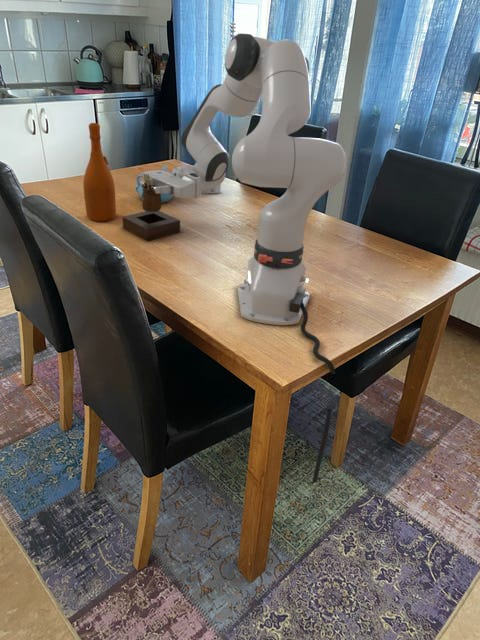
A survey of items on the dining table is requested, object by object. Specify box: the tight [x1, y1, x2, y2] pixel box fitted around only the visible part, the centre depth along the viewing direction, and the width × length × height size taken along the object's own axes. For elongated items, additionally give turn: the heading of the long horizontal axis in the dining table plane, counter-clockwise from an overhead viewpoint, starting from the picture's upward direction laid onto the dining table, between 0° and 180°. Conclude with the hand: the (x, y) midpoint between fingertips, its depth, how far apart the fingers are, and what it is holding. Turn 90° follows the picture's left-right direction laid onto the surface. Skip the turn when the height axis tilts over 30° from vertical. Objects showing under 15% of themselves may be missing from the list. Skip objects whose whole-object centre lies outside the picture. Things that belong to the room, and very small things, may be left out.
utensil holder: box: [141, 172, 162, 212], centre depth 151 cm, size 6×6×12 cm
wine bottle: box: [82, 122, 117, 222], centre depth 157 cm, size 10×10×30 cm
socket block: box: [122, 210, 181, 242], centre depth 157 cm, size 13×13×4 cm
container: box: [201, 183, 222, 194], centre depth 195 cm, size 8×8×13 cm
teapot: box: [135, 165, 174, 204], centre depth 183 cm, size 15×15×10 cm
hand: (148, 187), depth 150 cm, fingers closed on utensil holder, 5 cm apart
